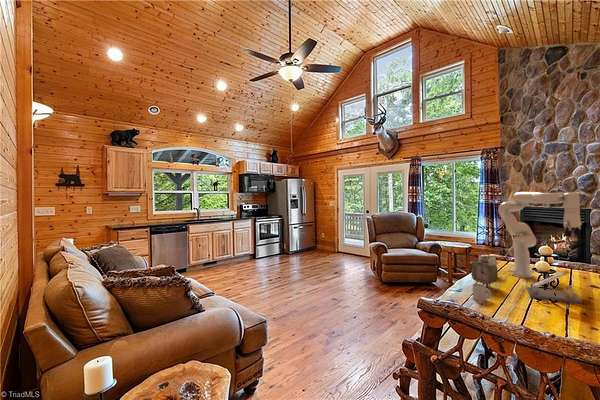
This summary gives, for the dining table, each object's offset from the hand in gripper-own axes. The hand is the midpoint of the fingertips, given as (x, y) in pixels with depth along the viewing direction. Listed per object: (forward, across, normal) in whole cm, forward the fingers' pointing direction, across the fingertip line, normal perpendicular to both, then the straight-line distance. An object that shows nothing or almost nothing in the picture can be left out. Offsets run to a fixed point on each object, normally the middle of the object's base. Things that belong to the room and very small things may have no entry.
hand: (573, 235), depth 193 cm
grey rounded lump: (+36, +70, -12) cm, 80 cm away
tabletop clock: (+36, +46, -28) cm, 65 cm away
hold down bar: (+26, +28, +3) cm, 38 cm away
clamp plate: (+36, +28, +3) cm, 46 cm away
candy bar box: (+36, +21, -46) cm, 62 cm away
